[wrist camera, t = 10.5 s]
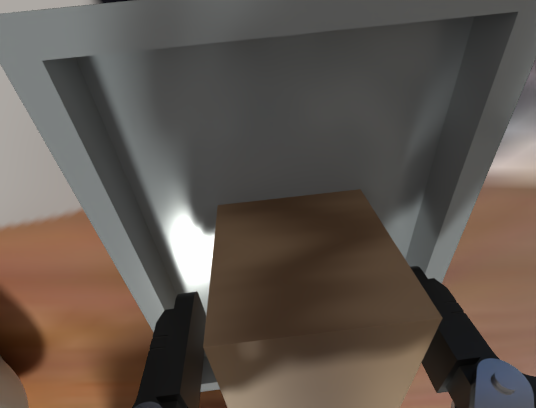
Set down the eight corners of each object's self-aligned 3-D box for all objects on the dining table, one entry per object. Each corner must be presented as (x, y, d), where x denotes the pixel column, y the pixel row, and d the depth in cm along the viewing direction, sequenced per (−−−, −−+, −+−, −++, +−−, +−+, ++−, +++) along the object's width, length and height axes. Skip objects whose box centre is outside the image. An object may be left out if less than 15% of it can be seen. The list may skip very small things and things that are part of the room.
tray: (502, -35, 9) (578, -44, 7) (390, 330, 20) (406, 365, 18) (34, 12, 8) (-27, 16, 6) (193, 355, 20) (188, 393, 18)
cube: (360, 189, 12) (442, 317, 7) (348, 282, 16) (398, 411, 11) (217, 205, 12) (202, 347, 7) (237, 295, 15) (237, 431, 11)
